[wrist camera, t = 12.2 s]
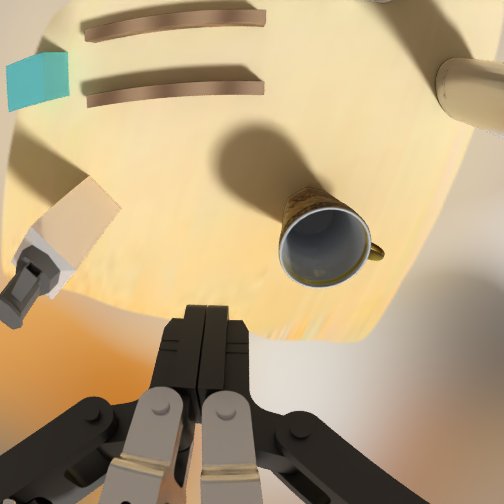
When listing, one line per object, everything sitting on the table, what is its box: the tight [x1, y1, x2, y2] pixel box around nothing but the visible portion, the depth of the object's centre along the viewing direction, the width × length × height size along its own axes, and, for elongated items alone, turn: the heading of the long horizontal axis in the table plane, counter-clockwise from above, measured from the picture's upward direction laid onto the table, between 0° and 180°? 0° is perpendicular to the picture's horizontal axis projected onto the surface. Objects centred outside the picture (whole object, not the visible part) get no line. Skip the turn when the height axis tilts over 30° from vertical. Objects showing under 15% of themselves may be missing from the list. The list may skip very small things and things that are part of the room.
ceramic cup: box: [279, 187, 385, 288], centre depth 36 cm, size 13×10×10 cm
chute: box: [85, 9, 266, 108], centre depth 28 cm, size 20×10×3 cm, turn 89°
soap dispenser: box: [0, 176, 122, 329], centre depth 29 cm, size 6×9×22 cm
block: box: [6, 52, 69, 112], centre depth 26 cm, size 6×6×6 cm
